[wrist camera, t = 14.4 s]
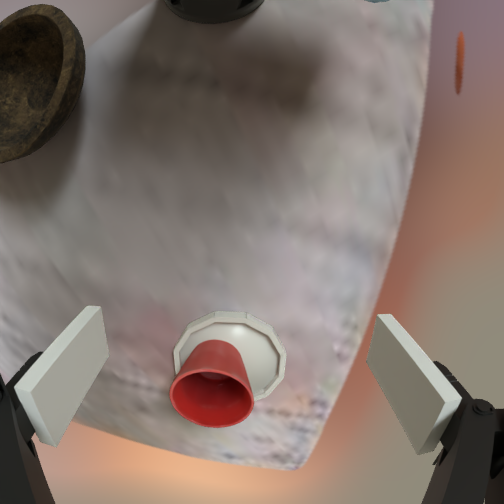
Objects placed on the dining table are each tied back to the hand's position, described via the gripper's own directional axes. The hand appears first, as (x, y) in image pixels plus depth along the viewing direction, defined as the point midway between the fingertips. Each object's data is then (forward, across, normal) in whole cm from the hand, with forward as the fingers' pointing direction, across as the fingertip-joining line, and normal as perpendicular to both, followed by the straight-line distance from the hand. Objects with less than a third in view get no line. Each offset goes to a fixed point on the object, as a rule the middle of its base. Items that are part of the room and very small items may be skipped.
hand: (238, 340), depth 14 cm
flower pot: (+28, -3, -21) cm, 35 cm away
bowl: (+29, -30, +20) cm, 46 cm away
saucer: (+28, -1, -21) cm, 35 cm away
